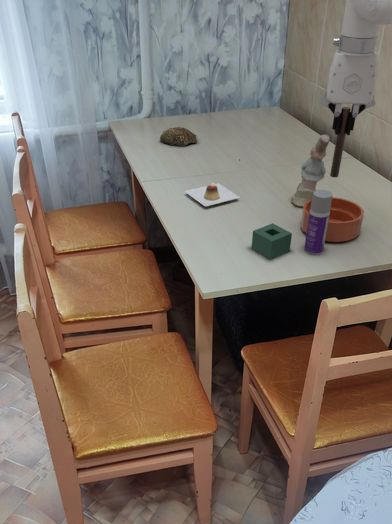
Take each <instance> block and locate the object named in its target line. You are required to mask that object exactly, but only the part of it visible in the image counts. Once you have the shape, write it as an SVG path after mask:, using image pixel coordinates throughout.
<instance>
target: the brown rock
mask: <svg viewBox="0 0 392 524" xmlns="http://www.w3.org/2000/svg"><path fill="white" fill-rule="evenodd" d="M159 140H160V141H161V142H162V143H163V144H167V145H170V146H174V147H175V146H178V147H186V146H187V145H189V144H197V142H198V139H197V134H195V133H193V132H192V131H191V130H189V129H188V128H185V127H181V126H174V127H169V128H168V129H166V130H164V131H163V132H162V134H161V135H160V136H159Z"/></svg>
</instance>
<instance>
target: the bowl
mask: <svg viewBox="0 0 392 524" xmlns="http://www.w3.org/2000/svg"><path fill="white" fill-rule="evenodd" d="M311 203H312V199H311V200H309V201H307V202H306V203H305V204H304V207H303V206H302V213H301V220H300V228H301V230H302V232H304V233H305V235H306V234H307V227H308V221H309V214H310V208H311ZM364 215H365V211H364V209H363V207H362V206H361V205H359V204H358V203H357V202H354V201H352V200H350V199H345V198H342V197H336V196H335V197H334V196H332V201H331V208H330V215H329V220H328V226H327V231H326V237H325V242H330V243H332V242H333V243H336V242H341V243H342V242H346V241H351V240H353V239H355V238H357V237H358V236H359V235H360V234H361V229H362V225H363V219H364Z"/></svg>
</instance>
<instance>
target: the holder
mask: <svg viewBox="0 0 392 524" xmlns="http://www.w3.org/2000/svg"><path fill="white" fill-rule="evenodd" d="M292 236H293V233H292V232H290V231H289V230H287V229H285V228H283V227H281V226H278V225H277V224H275V223H274V222H272V223H269V224H267V225H264V226H261V227H259V228H257V229H255V230H252V237H251V250H253V251H254V252H256V253H258V254H260V255H261V256H262V257H264V258H266V259H268V260H273V259H275V258H277V257H280V256H282V255H284V254H286V253H289V252H291V244H292Z"/></svg>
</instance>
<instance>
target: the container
mask: <svg viewBox="0 0 392 524" xmlns="http://www.w3.org/2000/svg"><path fill="white" fill-rule="evenodd" d="M315 190H316V191H314V192H313V197H312V203H311V208H310V214H309V221H308V227H307V234H306V233H305V241H304V247H303V250H304V252H305V253H306V254H308V255H311V256H318V255H319V256H320V255H321V254H323V252H324V248H325V242H326V241H325V237H326V231H327V226H328V220H329V215H330V208H331V201H332V197H333V193H332V192H331V191H329V190H326V189H315Z"/></svg>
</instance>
